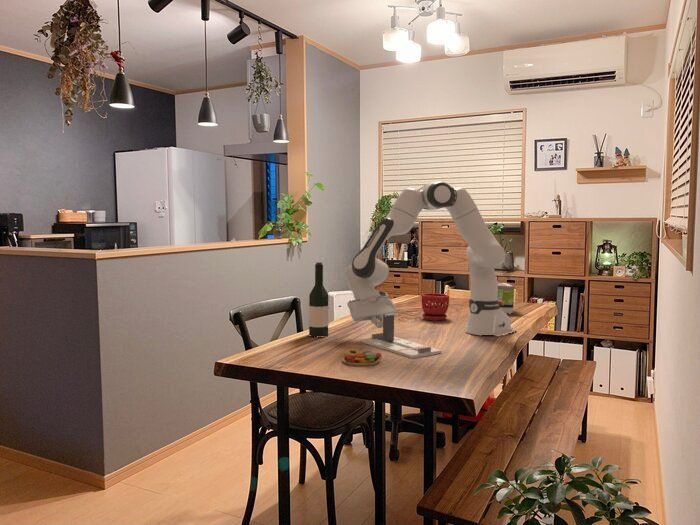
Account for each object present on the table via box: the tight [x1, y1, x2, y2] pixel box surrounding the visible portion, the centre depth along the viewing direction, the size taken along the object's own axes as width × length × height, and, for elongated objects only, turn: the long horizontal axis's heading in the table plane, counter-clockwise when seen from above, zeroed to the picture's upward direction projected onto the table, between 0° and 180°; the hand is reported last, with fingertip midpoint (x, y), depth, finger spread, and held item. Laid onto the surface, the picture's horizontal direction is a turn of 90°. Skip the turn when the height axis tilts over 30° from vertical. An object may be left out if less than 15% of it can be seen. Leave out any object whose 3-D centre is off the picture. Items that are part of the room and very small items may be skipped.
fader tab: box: [382, 314, 395, 342], centre depth 215 cm, size 3×3×10 cm
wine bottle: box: [308, 261, 329, 338], centre depth 228 cm, size 8×8×30 cm
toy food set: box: [341, 348, 382, 367], centre depth 189 cm, size 13×13×3 cm
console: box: [360, 332, 442, 359], centre depth 210 cm, size 14×30×3 cm, turn 34°
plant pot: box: [421, 292, 450, 321], centre depth 269 cm, size 13×13×12 cm
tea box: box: [497, 282, 515, 314], centre depth 290 cm, size 15×10×15 cm
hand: (381, 326), depth 219 cm, fingers closed
